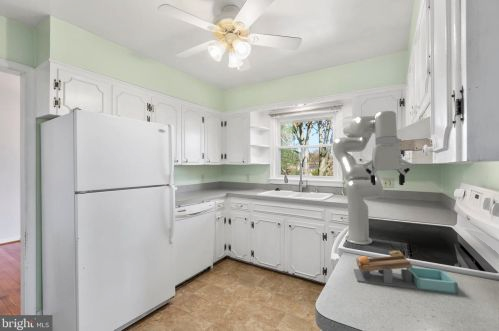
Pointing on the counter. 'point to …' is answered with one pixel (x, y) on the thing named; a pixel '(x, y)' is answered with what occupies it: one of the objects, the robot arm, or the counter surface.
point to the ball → (364, 260)
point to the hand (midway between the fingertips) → (387, 185)
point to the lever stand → (386, 278)
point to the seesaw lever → (385, 262)
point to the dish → (433, 280)
